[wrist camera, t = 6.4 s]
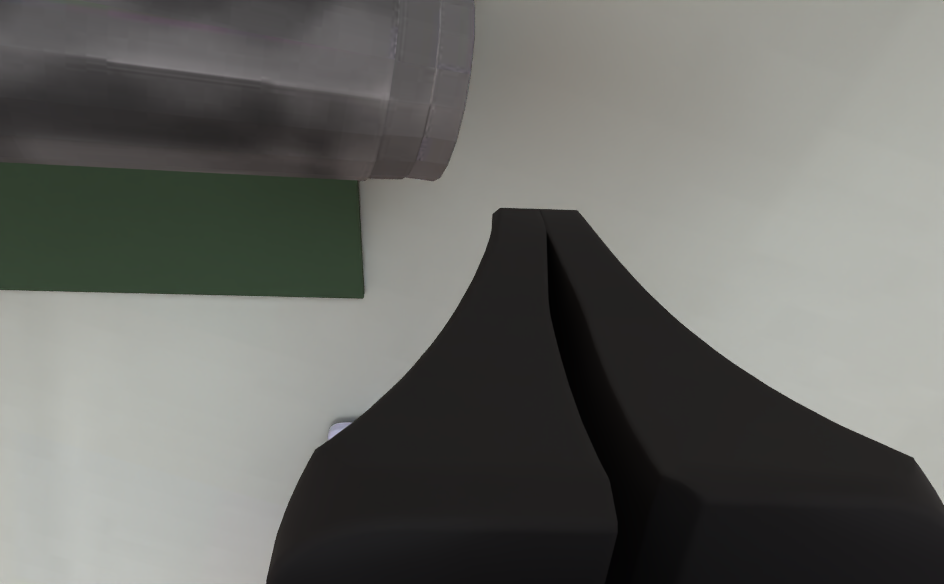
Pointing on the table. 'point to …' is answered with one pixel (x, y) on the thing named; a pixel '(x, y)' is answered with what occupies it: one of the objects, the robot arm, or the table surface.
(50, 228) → the mat
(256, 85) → the beverage cup
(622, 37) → the table surface
